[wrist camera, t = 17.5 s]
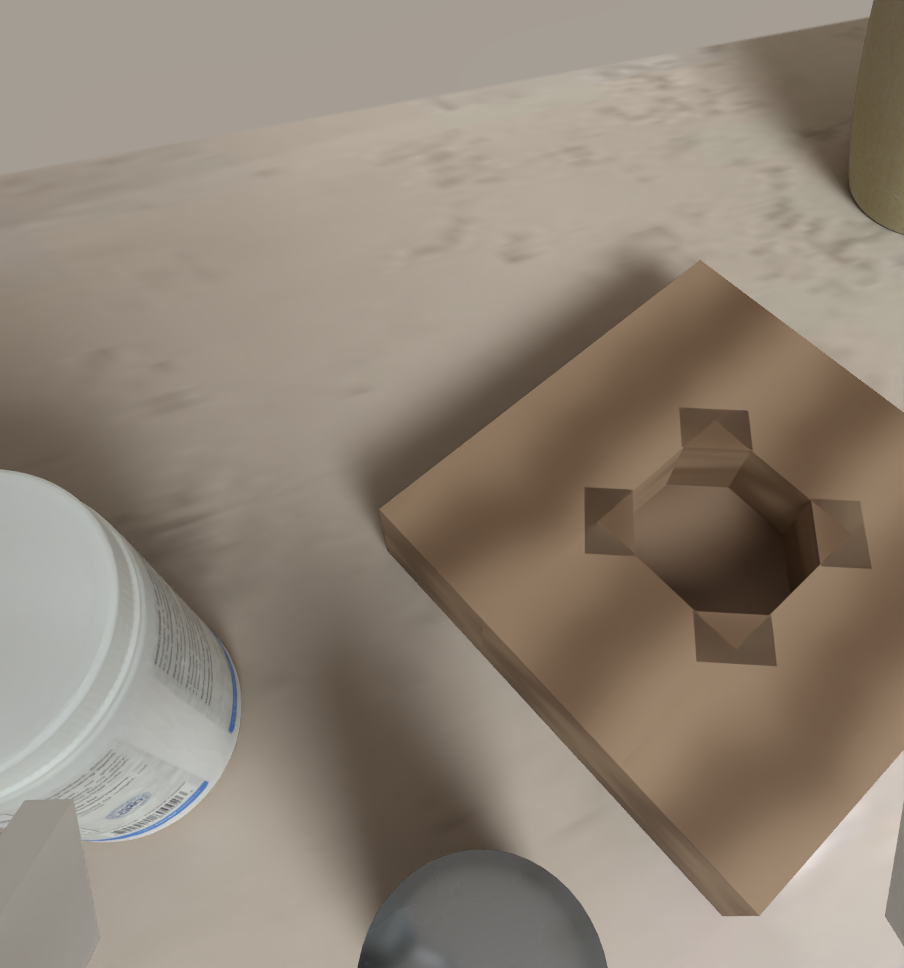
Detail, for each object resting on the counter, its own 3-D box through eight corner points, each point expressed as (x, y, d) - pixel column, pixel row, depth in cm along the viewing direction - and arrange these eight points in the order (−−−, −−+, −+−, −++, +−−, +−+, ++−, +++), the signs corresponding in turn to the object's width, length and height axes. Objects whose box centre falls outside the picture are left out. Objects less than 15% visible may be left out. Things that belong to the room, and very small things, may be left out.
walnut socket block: (387, 550, 39) (379, 509, 35) (679, 318, 45) (700, 259, 41) (722, 916, 32) (759, 916, 28) (1016, 584, 38) (1080, 545, 34)
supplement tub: (85, 591, 38) (-110, 422, 25) (281, 646, 37) (182, 498, 24) (-26, 810, 34) (-328, 743, 21) (191, 881, 33) (12, 856, 20)
